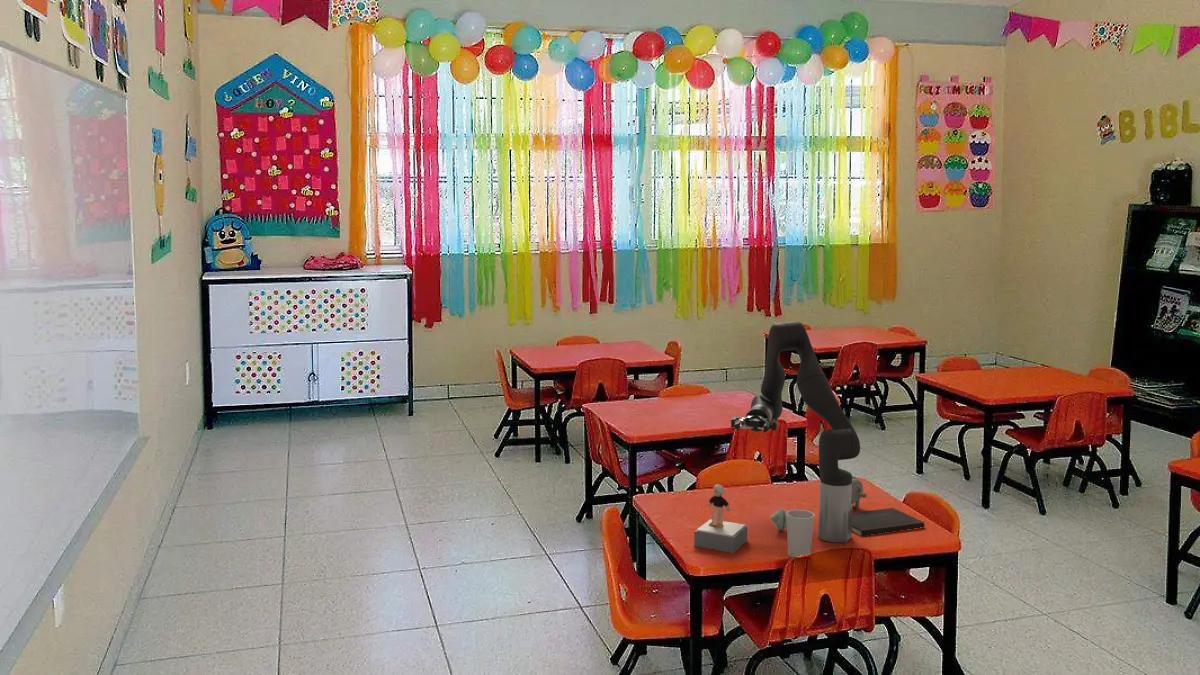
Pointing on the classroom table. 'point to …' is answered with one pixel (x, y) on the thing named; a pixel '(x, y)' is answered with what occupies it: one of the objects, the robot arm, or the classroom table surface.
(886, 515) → the hardcover book
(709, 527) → the plinth
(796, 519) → the cup
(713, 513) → the grandmother figurine
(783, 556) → the classroom table surface
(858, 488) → the toy sheep
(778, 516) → the robot head
